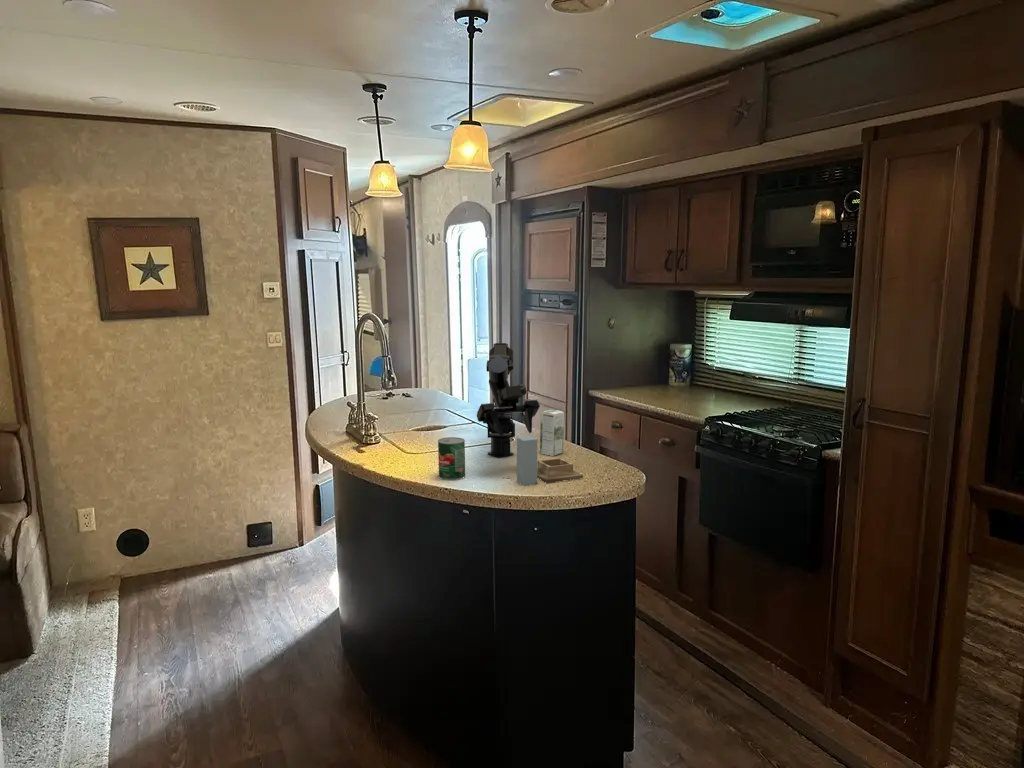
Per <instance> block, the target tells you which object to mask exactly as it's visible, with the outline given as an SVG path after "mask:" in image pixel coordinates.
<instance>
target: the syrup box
mask: <svg viewBox="0 0 1024 768" xmlns="http://www.w3.org/2000/svg"><path fill="white" fill-rule="evenodd" d="M564 425H565V412H564V411H562V410H557V409H549V410H544V411H541V412H540V425H539V426H540V430H539V431H540V432H539V434H540V436H539V437H540V438H539V439H540V440H539V454H540V455H543V454H545V455H544V456H549V455H550V457H556V456H559V455H561V454H560V453H562V454H564V439H565V438H564V437H565V435H564V432H565V426H564ZM558 454H559V455H558ZM555 455H556V456H555Z"/></svg>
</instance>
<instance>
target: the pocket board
mask: <svg viewBox="0 0 1024 768" xmlns="http://www.w3.org/2000/svg"><path fill="white" fill-rule="evenodd" d="M538 478H539V479H538ZM580 478H584V475H583V474H582V473H580V472H577V471H576V470H574V464H573V463H571V462H569V461H567V460H565V459H563V458H561V457H560V458H559V457H557V458H550V459H543V460H537V479H538V480H540V479H541V480H542V482H543V481H544V483H545V482H546V483H545V484H550V483H549V482H553V483H557V482H556V481H561V482H564V481H563V480H568V481H571V480H570V479H576V480H581V479H580ZM541 480H540V481H541Z"/></svg>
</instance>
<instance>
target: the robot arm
mask: <svg viewBox="0 0 1024 768" xmlns="http://www.w3.org/2000/svg"><path fill="white" fill-rule="evenodd" d="M492 345H493V347H492V348H491V349H489V352H488V360H487V361H486V372H487V373H488V377H489V379H488V385H489V388H490V391H491V394H492V396H493V398H492V402H491V403H490V402H489V403H488V402H487V403H481V404H480V405H479V408H478V410H477V412H476V418H477V421H478V422H480V423H481V422H482V423H483V424H487V426H486V427H487V438H488V439H489V438H490V451H487V455H489V456H493V457H496V458H503V457H504V458H505V457H509V456H512V455H514V454H515V453H514V452H511V439H513V438H514V437H515V438H516V423H515V422H514V419H511V418H512V414H518V413H520V415H521V416H522V421H523V422H524V425H525V428H526V430H527V431H528V433H529V434H532V431H533V417H536V415H537V412H538V410H539V409H540V403H539V401H538V400H537V399H525V400H524V403H522V404H521V405H517V404H518V403H519V402H520V400H519V399H520V398H522V397H523V396H525V395H527V392H528V391H527V387H526V385H525V384H524V383H519V384H518V385H510V383H509V380H508V378H509V376H510V374H511V372H512V371H513V370H514V350H513V349H511V348H510V347H509V344H508V343H506V342H495V343H493V344H492Z"/></svg>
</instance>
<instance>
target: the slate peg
mask: <svg viewBox="0 0 1024 768" xmlns="http://www.w3.org/2000/svg"><path fill="white" fill-rule="evenodd" d="M537 469H538V438H536V437H534V436H531V435H528V436H517V437H516V482H517V481H518V482H519V484H520V483H521V484H520V485H522V486H523V485H524V486H530V485H529V484H531V485H536V484H535V483H537V484H538V478H537ZM518 482H517V483H518Z"/></svg>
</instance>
